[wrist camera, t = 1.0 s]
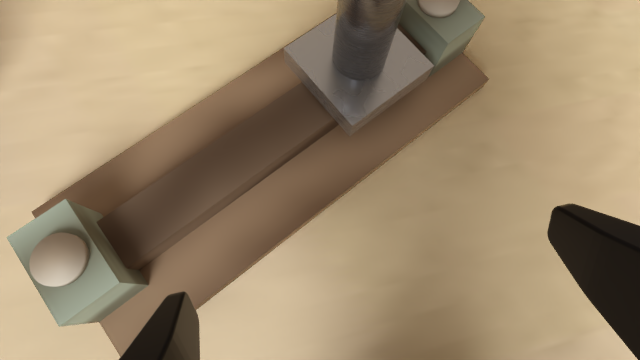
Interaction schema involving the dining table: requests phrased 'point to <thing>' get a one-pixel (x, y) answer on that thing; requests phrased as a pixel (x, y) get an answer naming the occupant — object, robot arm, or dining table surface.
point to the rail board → (265, 200)
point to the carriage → (358, 61)
